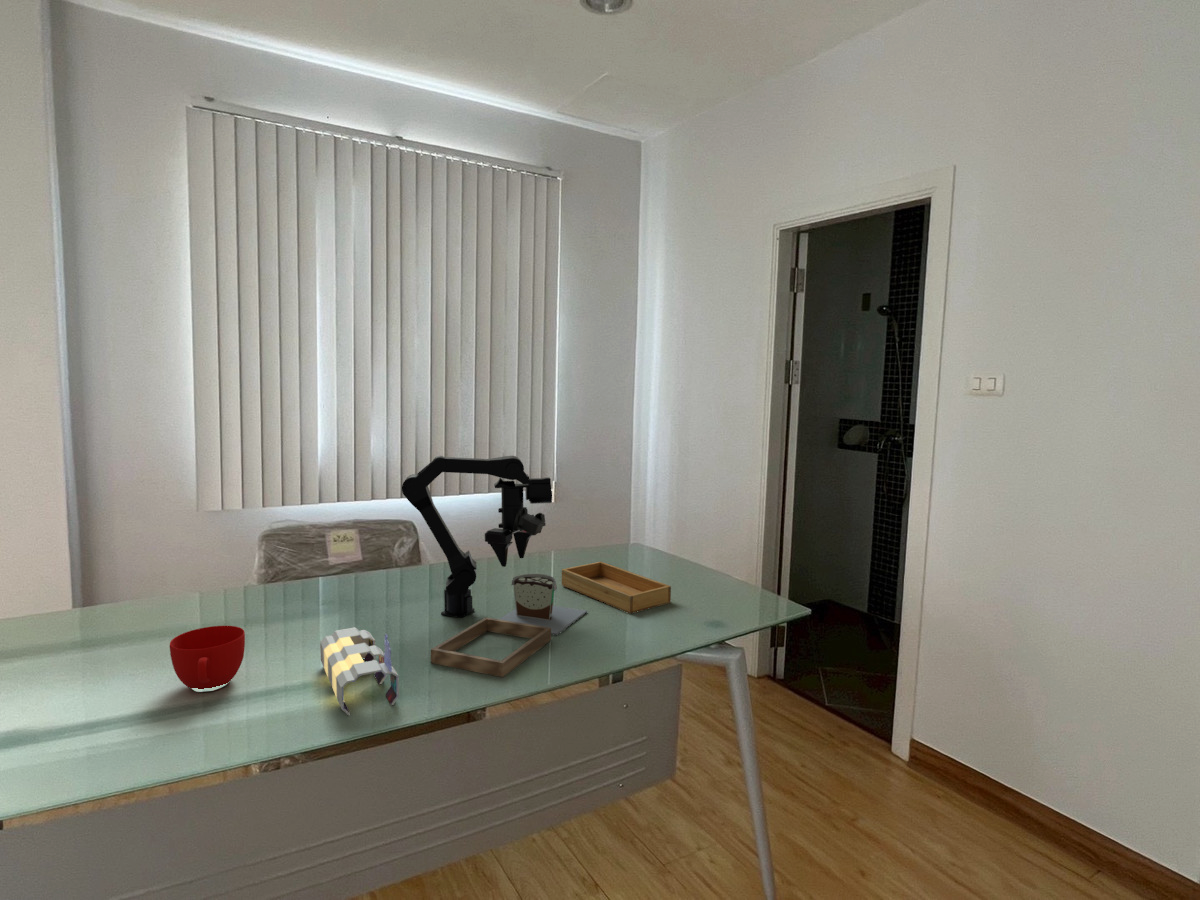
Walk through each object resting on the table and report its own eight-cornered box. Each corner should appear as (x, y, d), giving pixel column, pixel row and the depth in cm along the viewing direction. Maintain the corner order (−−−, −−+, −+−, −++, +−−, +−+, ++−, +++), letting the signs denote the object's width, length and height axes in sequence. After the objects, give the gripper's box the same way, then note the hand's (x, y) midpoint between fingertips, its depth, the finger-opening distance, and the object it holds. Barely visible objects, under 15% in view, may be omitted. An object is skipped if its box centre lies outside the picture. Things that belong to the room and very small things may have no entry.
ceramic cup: (162, 715, 124) (159, 662, 123) (178, 677, 139) (175, 630, 138) (242, 702, 129) (240, 651, 128) (249, 667, 145) (247, 621, 144)
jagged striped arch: (399, 706, 129) (397, 639, 127) (342, 719, 124) (339, 649, 122) (370, 659, 150) (369, 601, 149) (321, 668, 145) (318, 609, 144)
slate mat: (492, 625, 171) (492, 622, 170) (527, 603, 187) (527, 601, 187) (556, 635, 164) (556, 633, 164) (587, 612, 180) (587, 610, 180)
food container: (564, 613, 177) (564, 576, 176) (554, 621, 172) (554, 582, 171) (522, 607, 182) (522, 571, 181) (511, 615, 176) (511, 577, 175)
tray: (670, 604, 189) (671, 584, 188) (630, 615, 179) (630, 594, 179) (600, 578, 213) (600, 561, 212) (561, 587, 203) (561, 569, 202)
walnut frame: (430, 662, 148) (430, 649, 147) (485, 629, 168) (485, 617, 168) (502, 677, 141) (502, 663, 140) (551, 640, 161) (551, 628, 161)
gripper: (521, 512, 167) (522, 574, 169) (555, 500, 184) (555, 557, 186) (483, 509, 172) (483, 569, 173) (519, 497, 189) (520, 552, 190)
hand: (512, 562), depth 181 cm, fingers open, 9 cm apart
